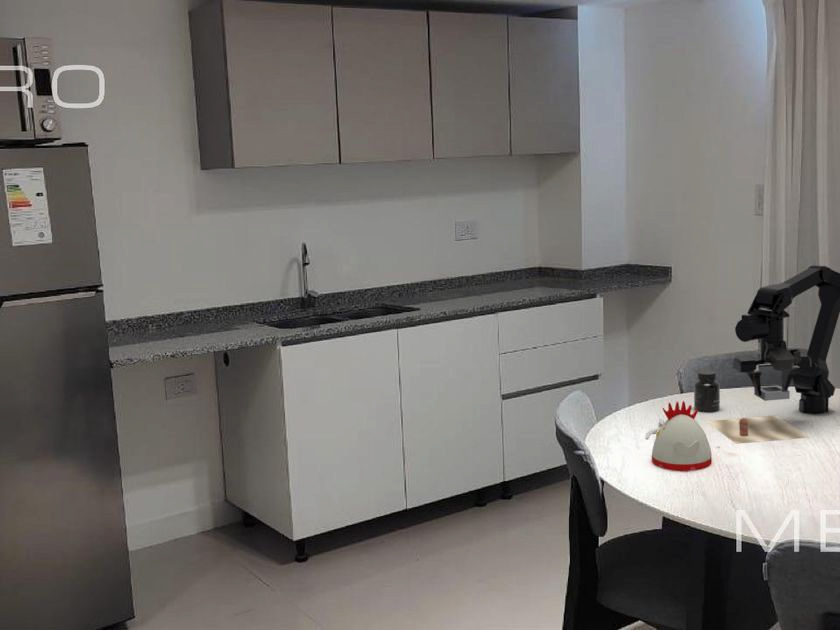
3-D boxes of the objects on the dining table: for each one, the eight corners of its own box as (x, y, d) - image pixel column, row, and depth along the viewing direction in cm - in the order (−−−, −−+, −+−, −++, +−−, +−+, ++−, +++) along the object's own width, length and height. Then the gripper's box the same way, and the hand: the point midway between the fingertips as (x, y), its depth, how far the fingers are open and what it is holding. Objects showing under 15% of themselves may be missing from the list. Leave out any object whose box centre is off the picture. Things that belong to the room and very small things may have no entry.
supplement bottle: (721, 417, 263) (720, 375, 260) (695, 417, 264) (694, 375, 262) (718, 410, 269) (718, 369, 267) (693, 411, 271) (692, 369, 268)
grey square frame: (778, 392, 252) (778, 385, 252) (789, 398, 246) (789, 391, 246) (754, 394, 252) (754, 387, 252) (764, 400, 246) (764, 393, 245)
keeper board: (774, 420, 257) (774, 399, 256) (810, 442, 237) (810, 420, 236) (705, 426, 255) (705, 405, 254) (735, 449, 236) (735, 426, 235)
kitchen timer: (646, 453, 237) (645, 395, 234) (702, 451, 236) (702, 392, 234) (659, 472, 223) (657, 410, 221) (718, 469, 223) (717, 407, 220)
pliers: (645, 434, 248) (647, 418, 262) (645, 440, 248) (647, 423, 262) (684, 435, 245) (684, 418, 260) (684, 441, 246) (684, 424, 260)
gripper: (749, 344, 238) (749, 405, 240) (822, 339, 239) (821, 399, 242) (731, 336, 249) (732, 394, 251) (801, 331, 250) (800, 389, 253)
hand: (771, 394), depth 249 cm, fingers closed on grey square frame, 6 cm apart
